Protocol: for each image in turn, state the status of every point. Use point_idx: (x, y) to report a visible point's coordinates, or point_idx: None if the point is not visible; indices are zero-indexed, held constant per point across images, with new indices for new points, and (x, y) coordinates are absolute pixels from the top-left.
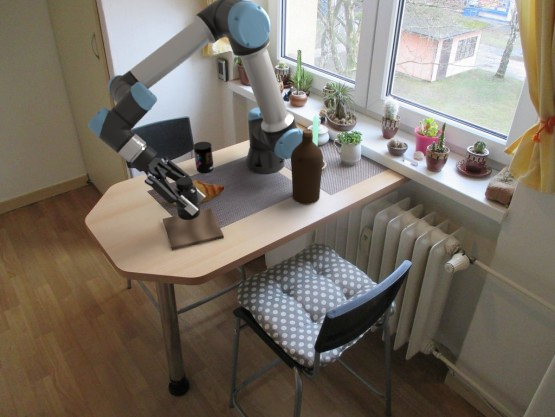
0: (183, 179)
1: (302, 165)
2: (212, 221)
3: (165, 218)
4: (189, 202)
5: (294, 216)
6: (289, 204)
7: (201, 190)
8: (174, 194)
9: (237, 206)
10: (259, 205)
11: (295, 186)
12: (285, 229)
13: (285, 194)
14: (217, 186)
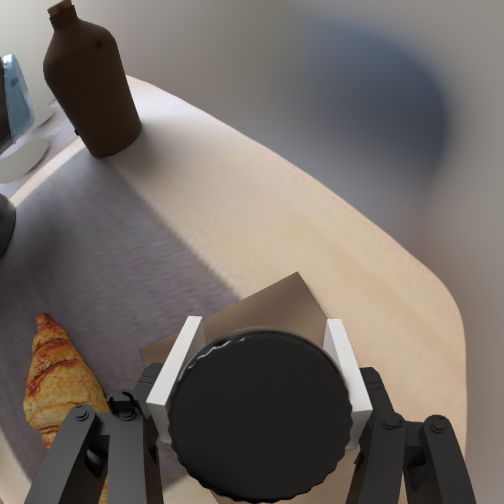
0: (223, 440)
1: (108, 50)
2: (221, 327)
3: (217, 497)
4: (347, 358)
5: (182, 138)
6: (133, 155)
7: (68, 381)
8: (401, 448)
9: (121, 270)
10: (125, 213)
11: (112, 116)
12: (235, 144)
13: (93, 171)
14: (43, 330)
